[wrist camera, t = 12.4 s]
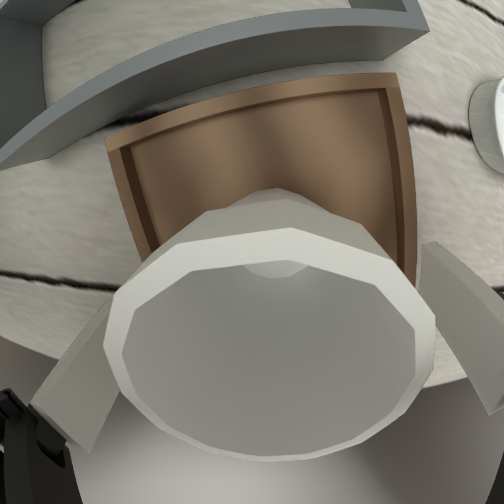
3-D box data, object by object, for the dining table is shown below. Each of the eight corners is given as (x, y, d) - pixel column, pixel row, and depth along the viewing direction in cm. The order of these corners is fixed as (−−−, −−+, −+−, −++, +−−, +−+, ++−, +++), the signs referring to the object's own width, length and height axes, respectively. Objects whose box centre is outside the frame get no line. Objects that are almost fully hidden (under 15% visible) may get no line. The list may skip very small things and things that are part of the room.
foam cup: (369, 233, 18) (471, 371, 6) (278, 315, 21) (272, 475, 9) (268, 134, 16) (248, 116, 4) (180, 236, 19) (72, 369, 7)
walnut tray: (194, 345, 24) (188, 363, 22) (122, 137, 17) (104, 138, 15) (400, 312, 21) (410, 329, 19) (381, 79, 14) (395, 72, 12)
